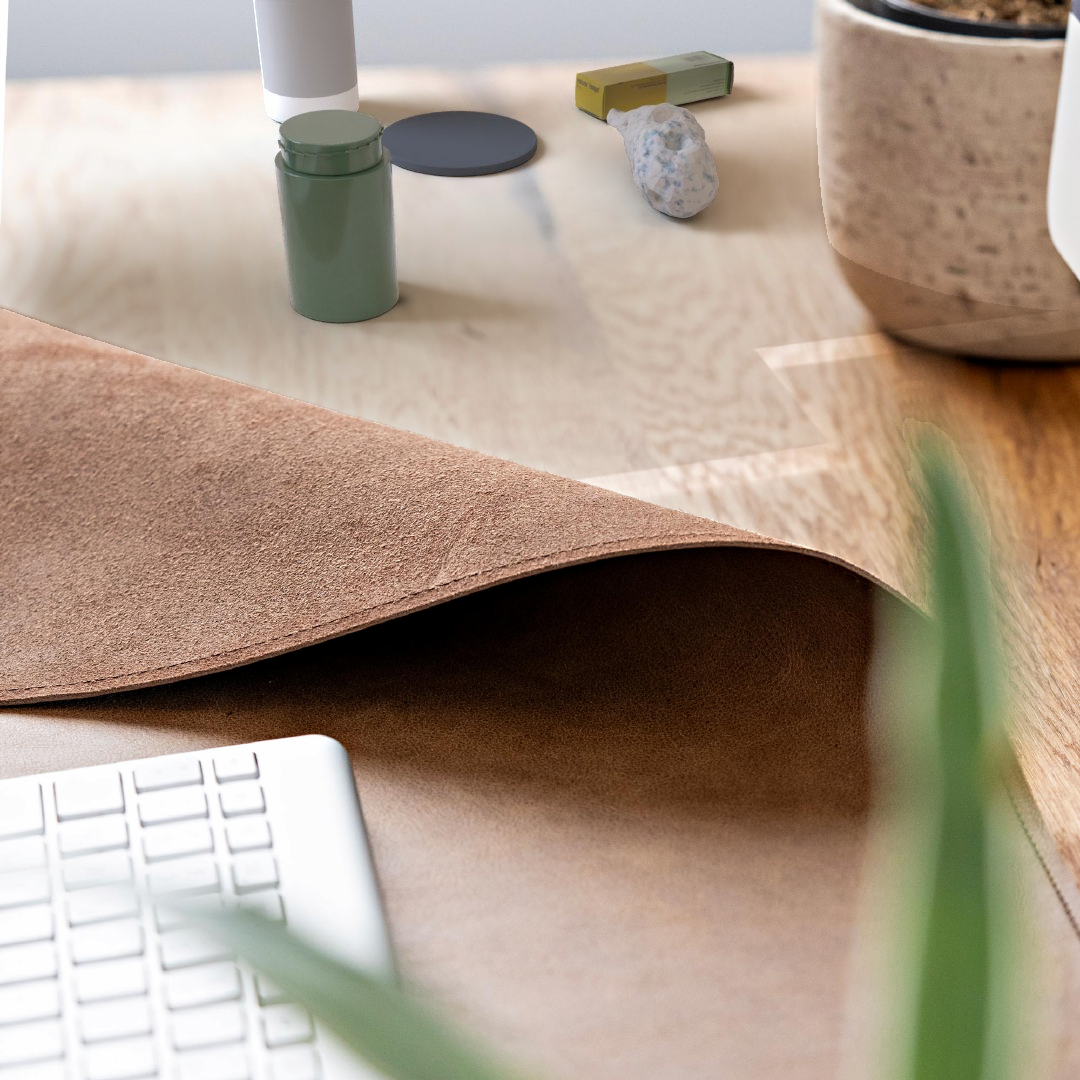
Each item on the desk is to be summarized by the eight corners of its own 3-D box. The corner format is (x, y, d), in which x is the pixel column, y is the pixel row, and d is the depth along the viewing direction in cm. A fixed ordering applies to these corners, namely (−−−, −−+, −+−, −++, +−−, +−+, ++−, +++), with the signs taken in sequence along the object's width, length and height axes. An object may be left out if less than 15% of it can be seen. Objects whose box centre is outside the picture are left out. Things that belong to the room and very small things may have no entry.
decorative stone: (750, 223, 80) (759, 143, 77) (646, 230, 79) (651, 149, 76) (688, 146, 90) (695, 73, 87) (596, 152, 89) (599, 78, 86)
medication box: (732, 97, 99) (701, 82, 101) (736, 61, 97) (704, 47, 100) (601, 123, 94) (572, 106, 96) (603, 85, 92) (573, 70, 95)
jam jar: (296, 328, 68) (277, 152, 63) (284, 279, 73) (265, 111, 67) (408, 316, 70) (398, 142, 64) (389, 268, 74) (378, 102, 68)
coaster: (394, 182, 84) (393, 173, 84) (367, 125, 93) (367, 116, 92) (555, 168, 87) (555, 159, 86) (515, 113, 95) (515, 105, 95)
